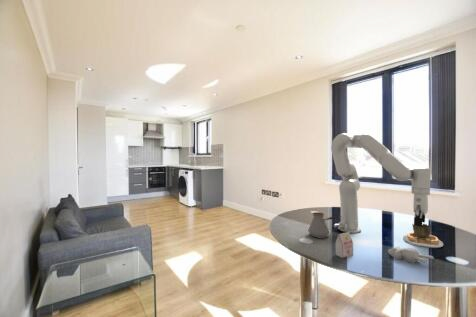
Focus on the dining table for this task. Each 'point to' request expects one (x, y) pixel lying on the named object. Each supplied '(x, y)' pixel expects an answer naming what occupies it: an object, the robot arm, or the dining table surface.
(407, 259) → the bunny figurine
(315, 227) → the coffee pot
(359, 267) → the dining table surface
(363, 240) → the dining table surface
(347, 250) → the milk carton
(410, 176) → the robot arm
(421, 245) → the rosette plate
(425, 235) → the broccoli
